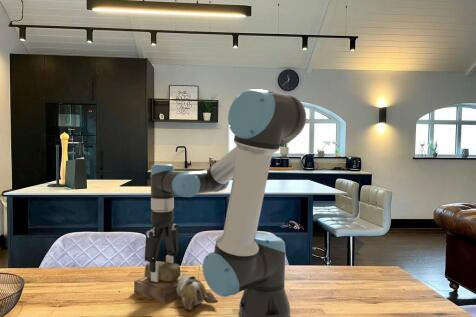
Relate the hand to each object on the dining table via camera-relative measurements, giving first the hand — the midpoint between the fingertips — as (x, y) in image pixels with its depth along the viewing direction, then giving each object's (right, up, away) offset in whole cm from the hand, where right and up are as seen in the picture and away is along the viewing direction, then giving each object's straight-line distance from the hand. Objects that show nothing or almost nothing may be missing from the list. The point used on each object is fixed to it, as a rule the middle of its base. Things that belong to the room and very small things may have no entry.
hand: (162, 277), depth 121 cm
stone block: (0, 0, 0) cm, 0 cm away
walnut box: (0, -5, 0) cm, 5 cm away
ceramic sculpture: (+11, -6, -8) cm, 15 cm away
